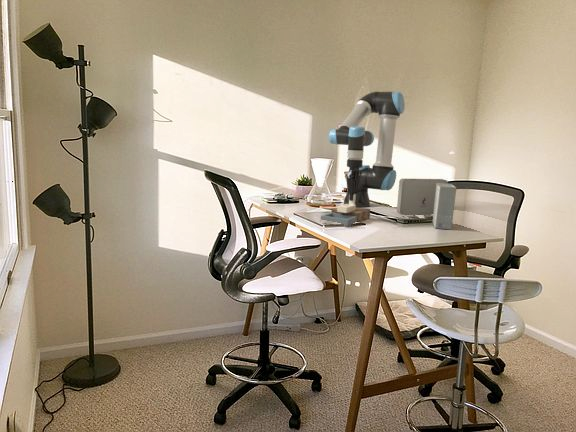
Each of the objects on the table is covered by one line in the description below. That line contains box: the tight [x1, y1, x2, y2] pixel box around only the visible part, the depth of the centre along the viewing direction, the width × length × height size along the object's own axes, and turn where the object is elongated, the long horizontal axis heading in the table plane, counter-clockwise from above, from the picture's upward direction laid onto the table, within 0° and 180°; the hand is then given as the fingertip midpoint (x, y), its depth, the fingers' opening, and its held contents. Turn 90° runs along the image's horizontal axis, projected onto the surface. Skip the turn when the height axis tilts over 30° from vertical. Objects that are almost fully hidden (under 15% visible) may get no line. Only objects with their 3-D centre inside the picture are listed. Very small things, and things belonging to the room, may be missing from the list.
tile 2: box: [343, 203, 356, 211], centre depth 228 cm, size 5×5×2 cm
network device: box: [396, 178, 449, 217], centre depth 242 cm, size 26×9×20 cm, turn 104°
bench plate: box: [330, 207, 371, 223], centre depth 231 cm, size 15×14×5 cm
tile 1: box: [336, 204, 351, 213], centre depth 224 cm, size 5×5×2 cm
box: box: [320, 212, 357, 228], centre depth 220 cm, size 10×14×4 cm
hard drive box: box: [431, 183, 457, 230], centre depth 223 cm, size 16×8×20 cm, turn 168°
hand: (351, 206), depth 230 cm, fingers closed
